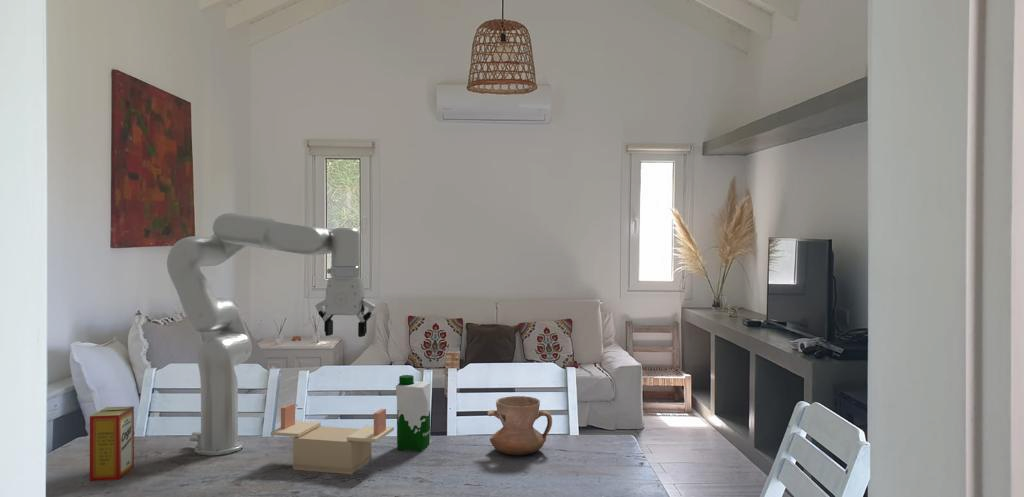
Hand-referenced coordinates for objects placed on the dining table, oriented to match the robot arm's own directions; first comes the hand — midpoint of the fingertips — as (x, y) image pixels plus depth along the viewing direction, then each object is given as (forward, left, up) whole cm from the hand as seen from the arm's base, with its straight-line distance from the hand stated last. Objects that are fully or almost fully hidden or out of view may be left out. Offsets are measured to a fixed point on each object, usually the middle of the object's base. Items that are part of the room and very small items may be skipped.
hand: (345, 335), depth 188 cm
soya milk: (+16, +10, -32) cm, 38 cm away
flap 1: (-10, -9, -24) cm, 27 cm away
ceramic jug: (+46, +13, -33) cm, 58 cm away
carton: (+1, -9, -32) cm, 34 cm away
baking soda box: (-49, -28, -32) cm, 65 cm away
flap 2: (+12, -9, -24) cm, 28 cm away
